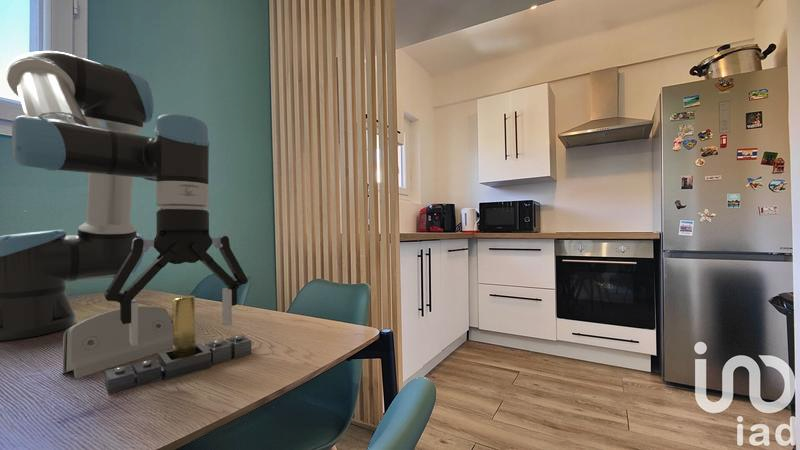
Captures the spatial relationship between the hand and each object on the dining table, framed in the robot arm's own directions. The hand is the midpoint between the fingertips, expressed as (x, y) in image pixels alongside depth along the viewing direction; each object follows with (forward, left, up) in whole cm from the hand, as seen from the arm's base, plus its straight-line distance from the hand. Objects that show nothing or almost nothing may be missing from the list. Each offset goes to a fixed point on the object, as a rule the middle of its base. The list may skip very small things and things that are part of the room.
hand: (184, 333), depth 56 cm
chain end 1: (0, -3, -6) cm, 7 cm away
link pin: (0, 0, -6) cm, 6 cm away
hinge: (-14, -7, -6) cm, 17 cm away
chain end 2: (0, +4, -6) cm, 7 cm away
